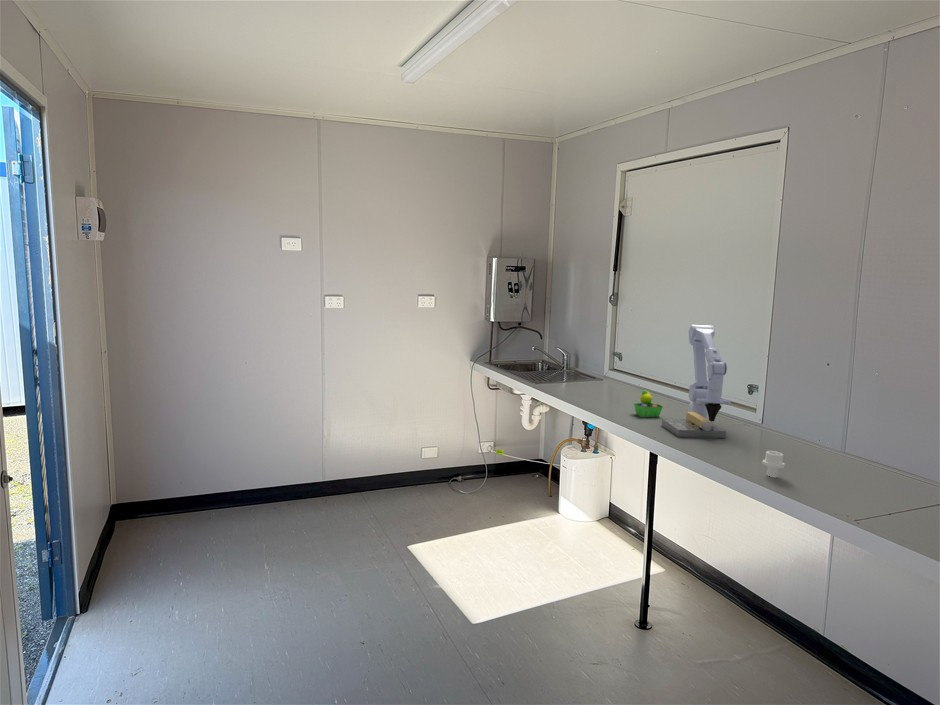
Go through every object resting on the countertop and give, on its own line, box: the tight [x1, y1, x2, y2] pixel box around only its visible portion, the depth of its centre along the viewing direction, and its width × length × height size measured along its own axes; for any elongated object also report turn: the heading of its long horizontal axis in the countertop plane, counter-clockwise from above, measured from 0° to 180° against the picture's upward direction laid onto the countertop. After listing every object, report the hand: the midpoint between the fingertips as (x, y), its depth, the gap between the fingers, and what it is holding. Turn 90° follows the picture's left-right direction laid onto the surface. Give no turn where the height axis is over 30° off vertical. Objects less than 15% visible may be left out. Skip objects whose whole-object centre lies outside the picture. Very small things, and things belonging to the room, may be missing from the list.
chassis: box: [661, 418, 727, 439], centre depth 266 cm, size 18×20×4 cm
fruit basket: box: [633, 389, 664, 418], centre depth 291 cm, size 11×9×11 cm
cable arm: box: [685, 411, 713, 430], centre depth 265 cm, size 18×4×3 cm, turn 5°
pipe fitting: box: [761, 450, 786, 478], centre depth 213 cm, size 6×7×8 cm
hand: (711, 420), depth 268 cm, fingers closed
